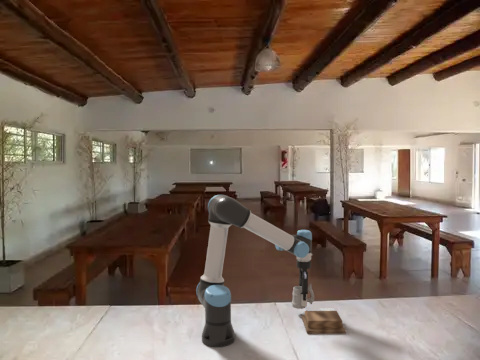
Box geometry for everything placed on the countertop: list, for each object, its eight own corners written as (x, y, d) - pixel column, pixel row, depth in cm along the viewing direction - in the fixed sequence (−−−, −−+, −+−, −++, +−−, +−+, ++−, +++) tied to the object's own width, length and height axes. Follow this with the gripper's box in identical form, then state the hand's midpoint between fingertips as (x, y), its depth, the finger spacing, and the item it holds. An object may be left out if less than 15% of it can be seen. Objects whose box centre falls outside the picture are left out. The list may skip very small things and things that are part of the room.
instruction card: (322, 316, 213) (322, 316, 213) (318, 308, 224) (318, 308, 224) (338, 316, 213) (338, 316, 213) (333, 308, 224) (333, 307, 224)
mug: (290, 303, 221) (290, 281, 220) (312, 303, 221) (312, 281, 221) (293, 309, 213) (293, 286, 212) (315, 308, 214) (316, 286, 213)
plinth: (307, 333, 194) (307, 323, 193) (301, 318, 212) (301, 308, 211) (345, 333, 194) (345, 323, 193) (337, 318, 212) (337, 308, 211)
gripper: (314, 265, 206) (313, 310, 207) (308, 255, 226) (307, 296, 227) (299, 265, 206) (298, 310, 207) (294, 255, 226) (293, 296, 227)
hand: (302, 303), depth 217 cm, fingers closed on mug, 7 cm apart
